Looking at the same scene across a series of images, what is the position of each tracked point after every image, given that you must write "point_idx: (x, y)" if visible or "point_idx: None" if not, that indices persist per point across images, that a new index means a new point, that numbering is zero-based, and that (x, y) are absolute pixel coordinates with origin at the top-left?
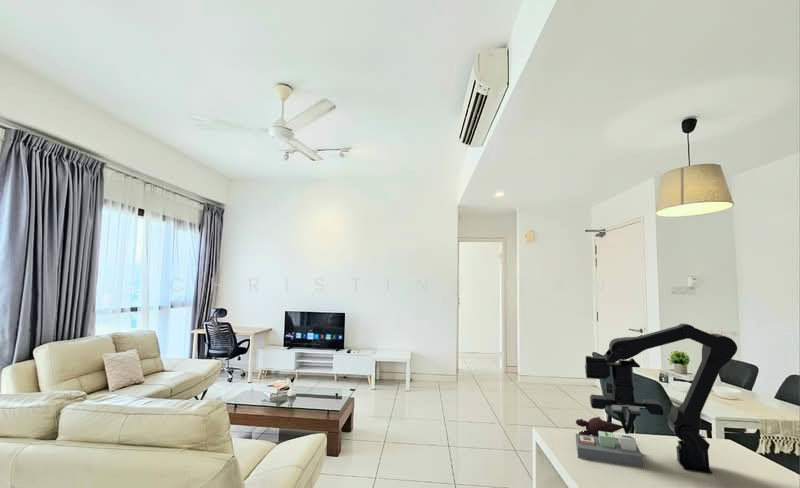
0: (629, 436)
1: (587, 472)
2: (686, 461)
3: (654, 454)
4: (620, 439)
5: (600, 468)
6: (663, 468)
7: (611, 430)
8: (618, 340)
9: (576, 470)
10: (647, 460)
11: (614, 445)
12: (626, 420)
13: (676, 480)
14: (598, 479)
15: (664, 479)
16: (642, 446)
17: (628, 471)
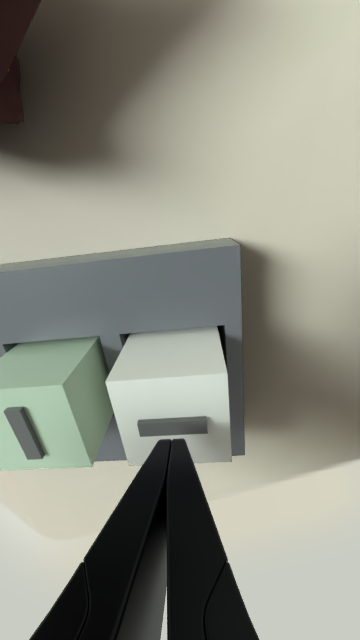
0: (194, 428)
1: (57, 503)
2: None
3: (334, 229)
4: (132, 459)
5: (86, 470)
6: (320, 389)
7: (27, 8)
8: None
9: (25, 503)
10: (269, 335)
11: (106, 422)
12: (169, 598)
13: (332, 461)
14: (94, 525)
15: (291, 468)
16: (292, 95)
17: None
